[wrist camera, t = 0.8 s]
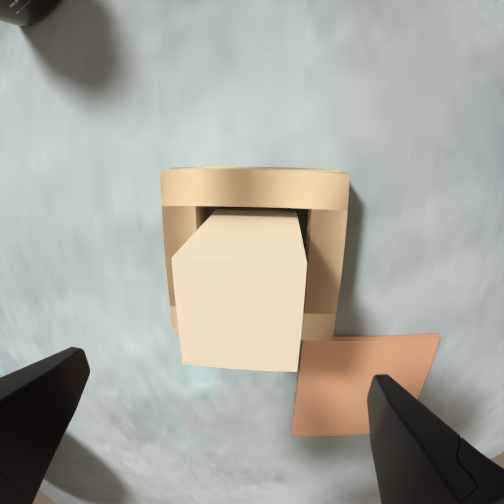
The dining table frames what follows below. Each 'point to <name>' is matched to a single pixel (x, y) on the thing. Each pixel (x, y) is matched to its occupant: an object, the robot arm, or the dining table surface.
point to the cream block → (242, 291)
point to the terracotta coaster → (354, 379)
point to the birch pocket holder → (275, 196)
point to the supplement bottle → (25, 10)
